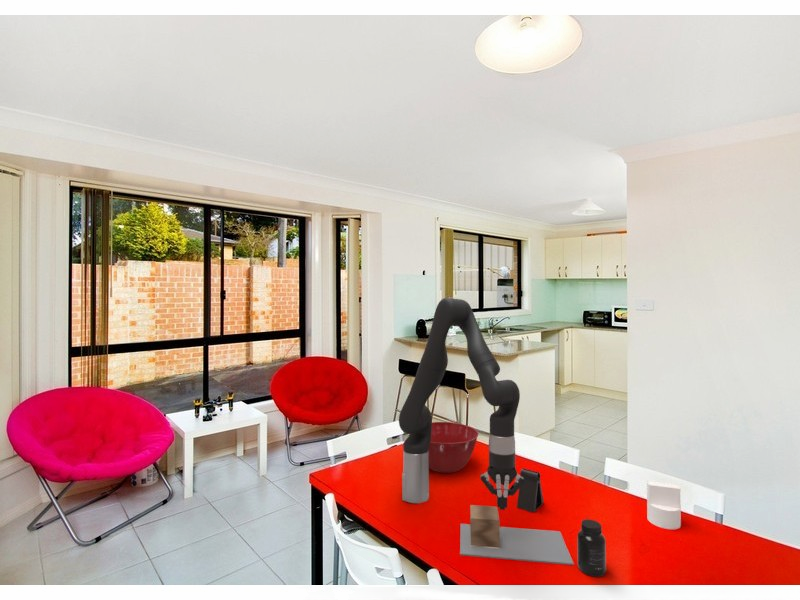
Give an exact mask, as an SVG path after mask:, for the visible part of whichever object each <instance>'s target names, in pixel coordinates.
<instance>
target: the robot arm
mask: <svg viewBox="0 0 800 600" xmlns="http://www.w3.org/2000/svg"><path fill="white" fill-rule="evenodd" d="M451 327H458V328H459V329H460V330H461V331H462V332H463V335H464V336H465V339H466V344H467V345H466V347H467V348H466V349H467V356H468V359H469V361H470V363H471V365H472V367H473V369H474V370H475V372H476V374H477V377H478V379H479V383H480V387H481V391H482V395H483V397H484V399H485V401H486V402H487V403H488V404H490V405H491V406H492V407H498V408H497V410H496V411H494V412H492V413H491V414H490V416H489V437H488V467H487V469H486V472H484V473H481V474H480V480H481V482H482V483H483V485H484V486H485V487H486V488H487V490H488V491H489V492H490V494H491V495H495V496H496V507H497V508H499V510H500V511H505V510H506V509H507V508H508V497H513V496H514V495H515V494H516V493H517V492H518V491H519V488H520V487H521V486H522V485H523V483H524V478H523V477H522V476H520V474H519V473H518V471H517V469H516V440H515V439H516V438H515V418H516V415H517V411H518V408H519V404H520V399H521V398H520V397H521V392H520V388H519V386H518V384H517V383H516V382H515V381H513V380H512V379H503V380H497V379H496V377H497V375H499V373H500V372H501V368H500V367H501V366H500V365H499V362H497V359H496V358H495V356H494V354H493V353H492V351H491V349H490V348H489V346H488V344H487V343H486V341H485V339H484V336H483V334H482V331H481V328H480V326H479V324H478V322H477V318H476V315H475V313H474V310H473V309H472V307H471V304H469V303H468V301H466V300H465V299H461V298H455V297H454V298H452V297H444V298H442V299H440V301H439V302H438V304H437V305H436V308H435V311H434V315H433V318H432V323H431V328H430V331H429V335H428V339H427V342H426V344H425V348H424V351H423V354H422V355H421V359H420V361H419V365H418V368H417V371H416V374H415V377H414V379H413V381H412V385H411V387H410V390H409V393H408V396H407V397H406V400H405V401H404V403H403V405H402V407H401V410H400V412H399V415H398V424H399V428H400V430H401V431H402V432H403V433H405V434H409V435H408V436H407V438H406V439H405V440H404V442H403V446H402V450H403V452H402V453H403V456H402V458H403V459H402V460H403V462H402V464H403V466H402V468H403V469H402V470H403V471H402V474H401V478H402V480H401V481H402V483H401V485H402V487H401V488H402V491H401V493H402V497H401V498H402V499H401V500H402V501H404V502H408V503H411V504H421V503H422V504H423V503H425V502H427V501H429V498H430V488H429V487H430V473H429V472H430V469H429V445H430V442H431V430H432V422H433V418H432V413H431V411H430V409H429V408H428V406H427V405H426V403H427V401H428V399H430V397H431V396H432V394H433V393H434V392H435V391H436V390H437V388H438V387H439V386H440V384H441V382H442V380H443V378H444V376H445V373H446V370H447V367H448V365H449V364H448V363H449V359H448V352H447V345H446V343H447V342H446V340H447V336H448V334H449V330H450V328H451ZM490 479H491V480H492V481H493V483H494V484H495V486H496V487H494V486H493V484H492V483H491V482H490ZM513 481H514V482H513ZM511 483H513V484H512V485H511V486H510V487H509V485H510V484H511Z"/></svg>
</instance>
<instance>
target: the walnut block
mask: <svg viewBox="0 0 800 600" xmlns="http://www.w3.org/2000/svg"><path fill="white" fill-rule="evenodd" d="M469 506H470V507H469V510H470V513H469V515H470V517H469V518H470V535H471V546H473V547H485V548H496V549H500V538H499V527H500V515H499V511H498V506H494V505H493V506H491V505H476V504H475V505H474V504H470V505H469Z"/></svg>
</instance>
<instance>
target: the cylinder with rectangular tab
mask: <svg viewBox="0 0 800 600" xmlns="http://www.w3.org/2000/svg"><path fill="white" fill-rule="evenodd" d="M646 500H647V501H646V506H647V507H646V508H647V509H646V513H647V517H646V518H647V521H649V522H650V523H651V524H652V525H654V526H656V527H659V528H661V529H666V530H677V529H680V528H681V526H682V519H681V515H682V514H681V512H682V511H681V509H682V508H681V507H682V506H681V500H682V499H681V487H680V486H679V485H678V484H673V483H665V482H658V481H657V482H656V481H646Z"/></svg>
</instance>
